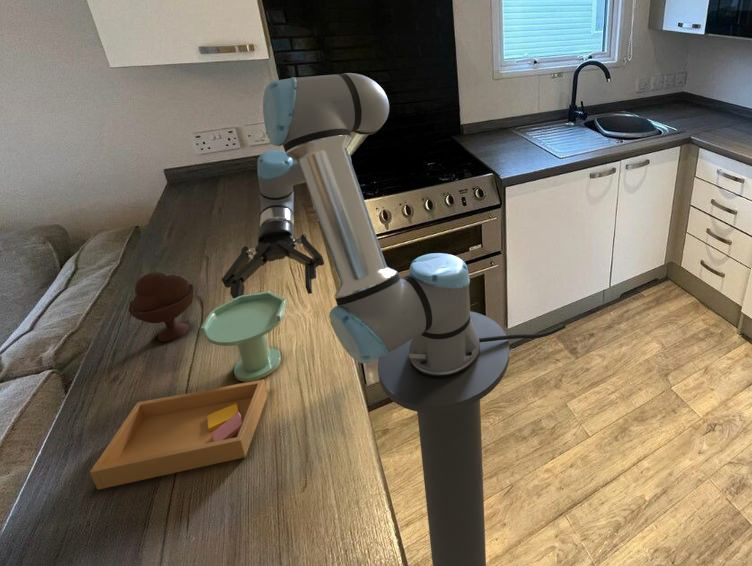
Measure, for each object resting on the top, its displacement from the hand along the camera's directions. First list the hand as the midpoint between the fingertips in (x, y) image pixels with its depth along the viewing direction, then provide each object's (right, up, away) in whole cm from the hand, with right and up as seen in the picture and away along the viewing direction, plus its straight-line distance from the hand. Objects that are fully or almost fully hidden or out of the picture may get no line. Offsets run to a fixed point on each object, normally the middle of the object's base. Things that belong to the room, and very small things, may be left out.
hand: (274, 298), depth 95 cm
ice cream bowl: (-24, -8, +2) cm, 25 cm away
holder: (-1, -17, -21) cm, 27 cm away
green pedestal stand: (+1, -12, -6) cm, 13 cm away
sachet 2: (+6, -16, -22) cm, 27 cm away
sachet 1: (+2, -14, -19) cm, 24 cm away
